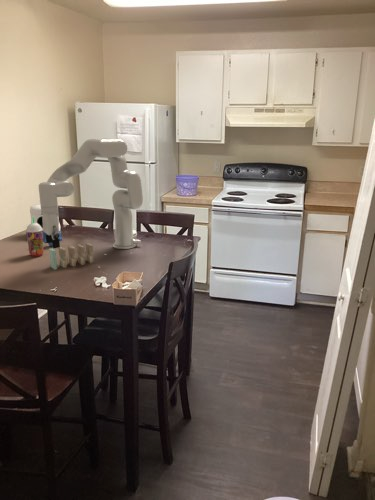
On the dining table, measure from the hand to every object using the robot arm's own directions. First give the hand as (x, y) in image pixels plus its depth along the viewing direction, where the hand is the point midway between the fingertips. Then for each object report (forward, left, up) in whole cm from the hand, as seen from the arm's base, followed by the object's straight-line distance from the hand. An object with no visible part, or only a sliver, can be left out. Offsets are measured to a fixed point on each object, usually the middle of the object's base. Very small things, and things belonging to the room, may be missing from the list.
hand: (53, 245), depth 204 cm
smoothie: (+14, -20, -11) cm, 27 cm away
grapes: (+10, -36, -11) cm, 39 cm away
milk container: (+19, -60, -11) cm, 64 cm away
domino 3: (-7, -4, -11) cm, 14 cm away
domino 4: (-11, -6, -11) cm, 17 cm away
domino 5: (-15, -9, -11) cm, 21 cm away
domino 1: (0, 0, -11) cm, 11 cm away
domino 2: (-4, -2, -11) cm, 12 cm away
